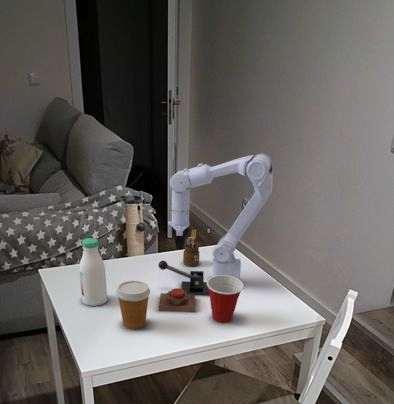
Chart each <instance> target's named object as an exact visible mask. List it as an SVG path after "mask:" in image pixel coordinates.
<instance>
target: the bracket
mask: <svg viewBox="0 0 394 404" xmlns="http://www.w3.org/2000/svg"><path fill="white" fill-rule="evenodd" d="M194 273H195V274H198V275H200V276H190V278H189V281H184V280H183V281H181V288H180V289H182V290H184V291H185V292H187V293H188V294H195V296H205V297H207V296H208V297H210V294H209V289H208V286H207V281H205V277H204V274H205V272H204V271H202V270H190V271H189V274H191V275H194Z"/></svg>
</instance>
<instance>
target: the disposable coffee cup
mask: <svg viewBox="0 0 394 404" xmlns="http://www.w3.org/2000/svg"><path fill="white" fill-rule="evenodd" d="M115 294H116V296H117V298H118V303H119V308H120V313H121V319H122V324H123V327H124V328H125V329H127V330H131V331H132V330H133V331H135V330H141V329H143V328H144V327H145V326H146V320H147V311H148V304H149V296H150V295H151V290H150V287H149V285H148V284H147V283H145V282H144V281H140V280H126V281H123V282H121V283H119V284H118V285H117V289H116V290H115Z"/></svg>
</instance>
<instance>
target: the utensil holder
mask: <svg viewBox="0 0 394 404" xmlns="http://www.w3.org/2000/svg"><path fill="white" fill-rule="evenodd" d="M196 236H197V230H196V229H192V230H191V235H190V236H189V237H188V239H190V240H188V241H186V242H187V243H186V244H184V247H183V254H182V255H183V257H182V263H183V265H184V266H185V267H197V266H198V265H199V263H200V251H199V250H200V248H199V245H198V244H196V243H194V242H195V239H196V238H197V237H196ZM191 241H192V242H191Z"/></svg>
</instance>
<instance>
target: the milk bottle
mask: <svg viewBox="0 0 394 404" xmlns="http://www.w3.org/2000/svg"><path fill="white" fill-rule="evenodd" d="M81 243H82V249H83V252H82V257H81V258H80V262H79V279H80V289H81V290H80V292H81V301H82V302H83V304H85V305H87V306H91V307H93V306H96V307H97V306H101V305H104V304H105V303H106V302H107V301H108V287H107V275H106V274H107V273H106V266H105V262H104V259H103V258H102V256H101V254H100V252H99V240H98V239H97V238H94V237H88V238H84V239H83V240H82V242H81Z"/></svg>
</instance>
